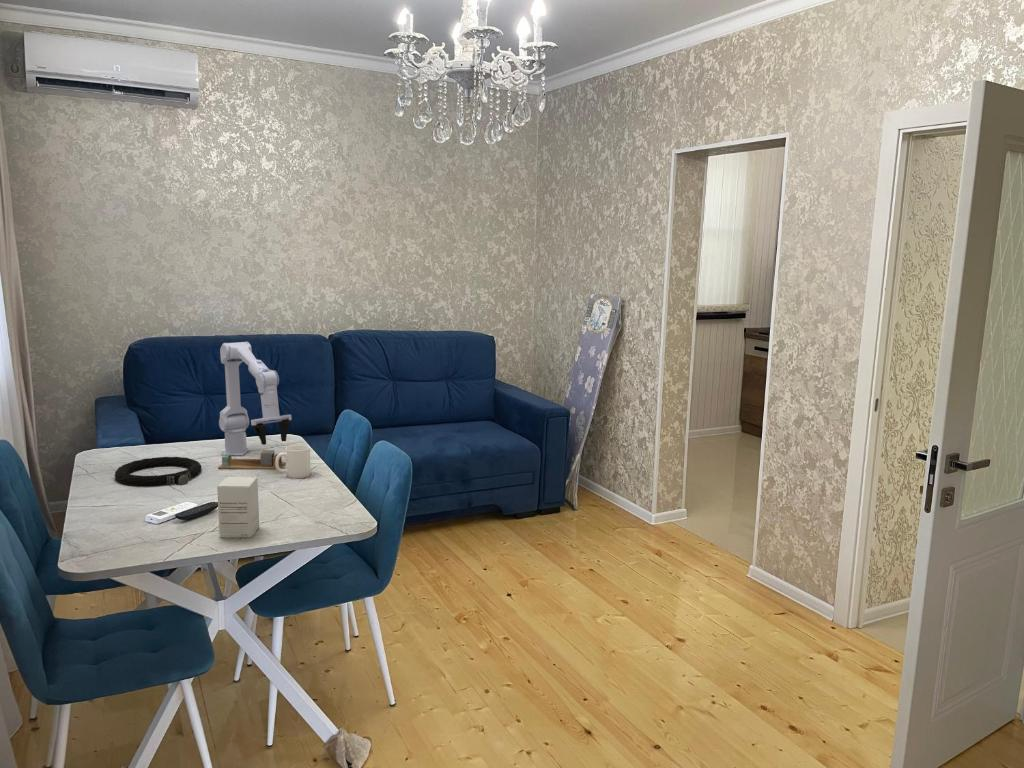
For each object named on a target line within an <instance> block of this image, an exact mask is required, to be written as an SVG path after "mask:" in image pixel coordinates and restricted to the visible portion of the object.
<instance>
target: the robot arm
mask: <svg viewBox="0 0 1024 768" xmlns="http://www.w3.org/2000/svg"><path fill="white" fill-rule="evenodd" d="M219 353H220V363H221V364H224V375H225V394H226V406H225V407H224V408H223V409H222V410H221V411H219V420H218V426H219V429H220V430H221V431H222V432H224V448H225V449H224V452H222V454H221V456H224V455H225V454H232V456H245V454H246V453H247V452H248V451H249V450H250V448H249V447H247V446H248V445H247V444H248V443H247V433H246V431H247V428H249V425H251V426H252V428H253V430H254V431H255V432H256V434H257V435H258V438H259V441H260V443H261V445H262V446H263V445H267V437H266V430H267V426H266V425H265V424H271V423H278V427H279V432H280V439H281V442H287V435H288V432H289V428H290V426H291V424H292V422H291V421H292V414H284V415H280V407H279V406H280V405H279V399H278V397H279V396H278V390H277V389H278V388H277V387H278V385H279V383H280V377H279V375H278V372H277V371H276V370H275V369H273V370H272V369H270V368H269V367H267V365H266V364H265V363H264V362H263V361H262V360H261V359H257V358H256V357H255V355H254V354H253V349H252V345H251V343H250V342H249V341H240V342H239V341H238V342H223V343H222V345H221V347H220V351H219ZM242 363H245V364H246V365H247V366H248V367H247V368H248V372H249V373H250V375H251V376H252V377H254V379H255V384H256V386H257V390H258V391H257V392H258V393H259V394H260V403H261V412H262V413H261V414H262V417H261V418H255V419H251V420H250V418H249V415H248V410H247V409H246V408H245V407H244V406H241V405H242V404H241V402H242V401H241V386H240V369H239V367H240V366H241V364H242ZM250 423H251V424H250Z"/></svg>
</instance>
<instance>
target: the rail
mask: <svg viewBox="0 0 1024 768" xmlns="http://www.w3.org/2000/svg"><path fill="white" fill-rule="evenodd" d="M278 454H279V453H274V457H273V459H272V466H261V461H260V458H233V455H232V454H225V455H222V457H221V464H220V465H219V467H217V470H275V471H278V470H277V469H276V466H275V461H276V457H277V455H278ZM282 457H283V456H281V457H280V458H279V462H278V465H279V468H280V469H283V467H284V466H286V461H283V460H282Z"/></svg>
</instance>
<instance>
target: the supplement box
mask: <svg viewBox="0 0 1024 768" xmlns="http://www.w3.org/2000/svg"><path fill="white" fill-rule="evenodd" d="M258 479H259V478H258V477H257V476H226V477H225V478H224V479H223V480H222V481H221V482H220V483H219V484H218V485H217V487H216V488H217V511H218V512H217V514H218V532H219V533H218V534H219V538H227V539H228V538H252V537H253V536H254V535H255V533H256V532H257V530H258V529H259V527H260V510H259V509H260V508H259V506H260V505H259V484H258V483H259V481H258Z"/></svg>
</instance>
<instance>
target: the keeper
mask: <svg viewBox="0 0 1024 768" xmlns="http://www.w3.org/2000/svg"><path fill="white" fill-rule="evenodd" d="M259 455H260V456H259V457H260V458H259V459H260V461H261V466H272V459H273V457H274V456H275V450H273V449H272V450H271V449H270V450H269V449H267V450H266V449H265V450H262V451H261V452H260V453H259Z"/></svg>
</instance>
